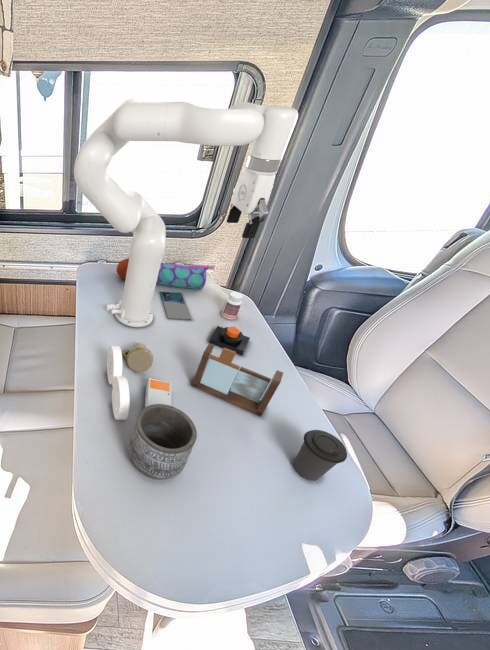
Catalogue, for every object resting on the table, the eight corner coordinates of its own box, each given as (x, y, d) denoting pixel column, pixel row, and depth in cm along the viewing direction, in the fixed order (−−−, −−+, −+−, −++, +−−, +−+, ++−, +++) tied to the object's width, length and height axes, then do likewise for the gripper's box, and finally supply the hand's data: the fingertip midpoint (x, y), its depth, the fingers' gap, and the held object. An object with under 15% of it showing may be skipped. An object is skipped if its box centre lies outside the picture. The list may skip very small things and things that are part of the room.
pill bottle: (238, 320, 131) (246, 299, 126) (223, 319, 131) (231, 298, 126) (233, 311, 135) (241, 291, 130) (219, 311, 135) (227, 290, 130)
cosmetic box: (171, 381, 101) (172, 417, 92) (168, 392, 104) (168, 428, 95) (148, 376, 102) (146, 411, 93) (145, 388, 105) (143, 423, 96)
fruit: (121, 269, 156) (124, 251, 151) (142, 276, 152) (145, 258, 147) (111, 278, 150) (113, 260, 145) (131, 286, 146) (135, 267, 141)
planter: (123, 438, 92) (132, 402, 84) (175, 440, 92) (188, 404, 84) (130, 486, 82) (141, 450, 75) (187, 489, 82) (204, 453, 75)
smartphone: (168, 317, 130) (160, 291, 143) (167, 318, 131) (159, 292, 143) (191, 319, 130) (181, 292, 143) (190, 320, 130) (180, 293, 143)
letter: (105, 365, 112) (110, 338, 106) (113, 365, 112) (118, 338, 106) (115, 428, 94) (122, 400, 88) (124, 428, 94) (131, 400, 88)
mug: (149, 351, 117) (162, 340, 108) (140, 380, 114) (152, 371, 104) (126, 341, 118) (137, 329, 108) (116, 370, 114) (126, 360, 105)
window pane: (199, 383, 105) (214, 345, 97) (200, 381, 106) (215, 343, 97) (226, 395, 102) (244, 357, 94) (227, 393, 103) (245, 355, 94)
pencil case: (145, 286, 146) (150, 263, 140) (146, 274, 153) (151, 252, 147) (202, 295, 143) (210, 272, 137) (201, 282, 150) (208, 260, 144)
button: (224, 335, 119) (226, 330, 118) (227, 329, 122) (229, 325, 121) (236, 339, 118) (238, 335, 117) (239, 333, 120) (241, 329, 119)
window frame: (191, 385, 106) (203, 351, 99) (196, 377, 109) (208, 343, 101) (260, 416, 99) (280, 382, 91) (264, 407, 101) (283, 372, 94)
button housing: (208, 342, 121) (212, 333, 119) (216, 329, 127) (219, 321, 124) (242, 355, 117) (246, 346, 115) (248, 341, 122) (252, 333, 120)
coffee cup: (311, 492, 83) (334, 465, 77) (278, 462, 88) (297, 435, 82) (335, 477, 86) (358, 450, 80) (301, 448, 92) (321, 421, 85)
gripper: (232, 154, 102) (214, 217, 113) (264, 174, 89) (240, 244, 99) (260, 155, 103) (239, 217, 113) (296, 175, 89) (268, 244, 100)
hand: (239, 229), depth 106 cm, fingers open, 9 cm apart
